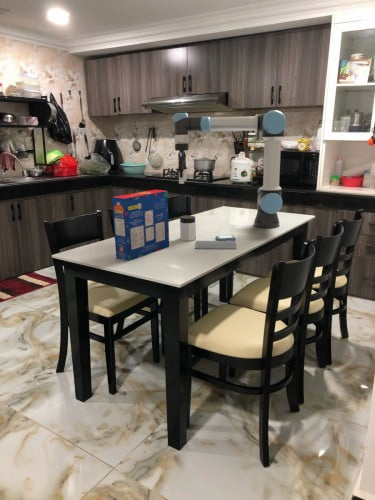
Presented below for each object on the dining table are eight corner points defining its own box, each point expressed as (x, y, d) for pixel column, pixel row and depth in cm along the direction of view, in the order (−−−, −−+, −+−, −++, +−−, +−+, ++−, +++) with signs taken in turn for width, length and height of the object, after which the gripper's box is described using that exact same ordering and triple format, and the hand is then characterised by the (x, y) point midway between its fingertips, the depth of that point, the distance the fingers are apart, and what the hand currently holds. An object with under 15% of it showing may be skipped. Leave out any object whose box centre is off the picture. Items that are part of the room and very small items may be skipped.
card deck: (232, 238, 209) (232, 234, 208) (235, 241, 203) (235, 237, 202) (215, 239, 207) (215, 235, 207) (218, 242, 201) (218, 238, 201)
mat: (235, 241, 200) (235, 240, 200) (236, 249, 186) (236, 248, 186) (196, 241, 201) (196, 240, 201) (195, 248, 188) (195, 248, 188)
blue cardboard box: (157, 244, 197) (155, 189, 190) (169, 246, 193) (167, 190, 185) (116, 258, 176) (111, 197, 168) (128, 261, 172) (124, 198, 164)
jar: (198, 237, 209) (198, 216, 205) (192, 241, 201) (192, 219, 198) (183, 236, 212) (183, 215, 209) (177, 240, 205) (176, 217, 202)
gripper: (177, 142, 224) (178, 179, 230) (172, 143, 200) (173, 184, 206) (190, 142, 224) (191, 179, 229) (186, 143, 200) (187, 184, 206)
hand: (182, 182), depth 218 cm, fingers open, 13 cm apart
